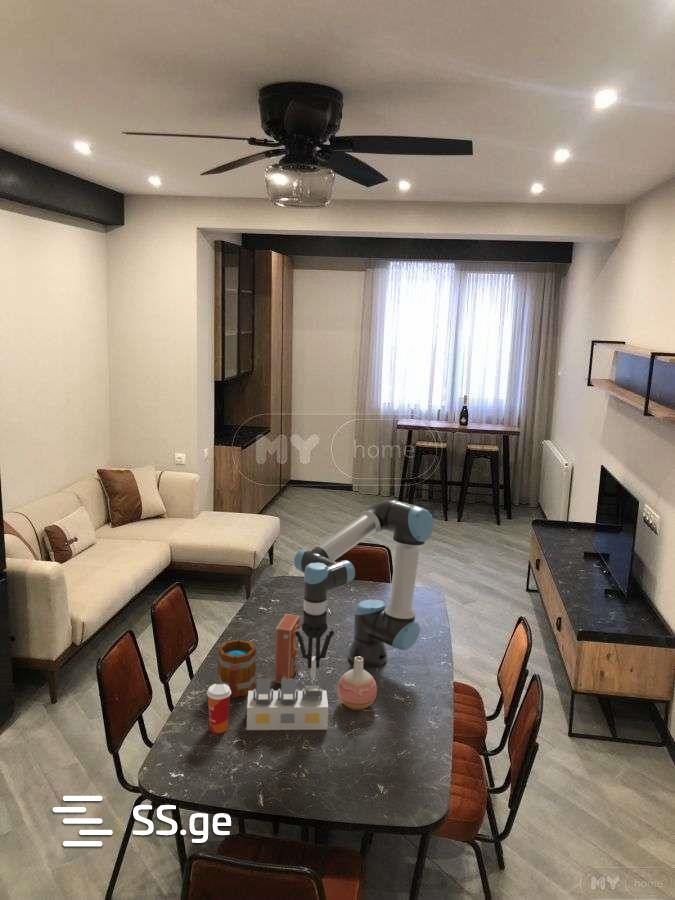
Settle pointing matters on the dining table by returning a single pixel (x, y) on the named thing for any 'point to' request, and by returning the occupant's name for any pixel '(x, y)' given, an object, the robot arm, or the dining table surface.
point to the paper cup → (218, 707)
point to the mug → (237, 666)
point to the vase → (357, 687)
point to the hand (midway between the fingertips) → (313, 676)
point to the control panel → (286, 648)
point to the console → (288, 712)
